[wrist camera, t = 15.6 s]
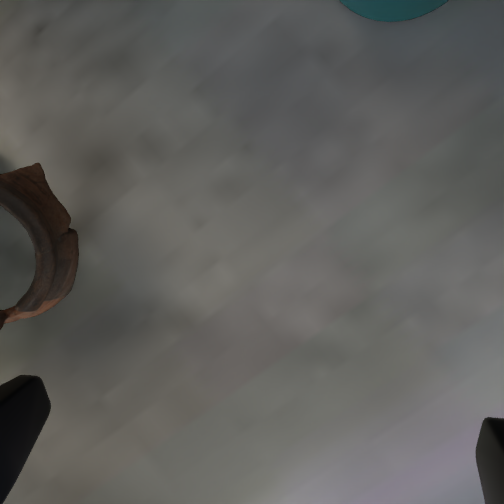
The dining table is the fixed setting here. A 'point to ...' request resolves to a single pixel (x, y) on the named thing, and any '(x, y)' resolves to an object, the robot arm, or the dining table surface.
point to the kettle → (392, 8)
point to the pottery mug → (40, 240)
